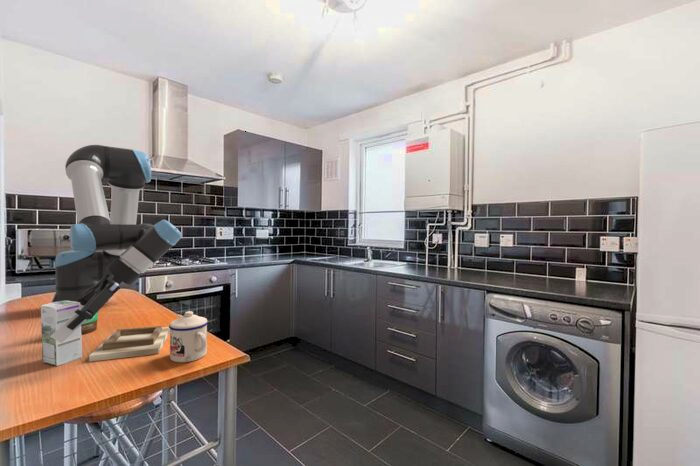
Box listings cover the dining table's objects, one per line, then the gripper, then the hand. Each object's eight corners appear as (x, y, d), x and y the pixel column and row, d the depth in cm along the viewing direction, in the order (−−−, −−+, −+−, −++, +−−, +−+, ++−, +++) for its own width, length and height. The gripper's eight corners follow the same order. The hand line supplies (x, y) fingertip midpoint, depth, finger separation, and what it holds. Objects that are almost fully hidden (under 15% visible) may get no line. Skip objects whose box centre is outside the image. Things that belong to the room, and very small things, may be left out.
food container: (71, 340, 92) (71, 306, 92) (55, 338, 94) (54, 304, 93) (111, 326, 104) (111, 296, 104) (96, 325, 106) (95, 295, 105)
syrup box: (83, 357, 81) (82, 301, 81) (55, 367, 76) (54, 307, 75) (68, 353, 83) (67, 299, 83) (40, 363, 78) (39, 304, 77)
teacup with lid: (162, 357, 82) (162, 312, 82) (196, 346, 90) (196, 305, 89) (186, 370, 76) (186, 321, 75) (221, 357, 83) (221, 313, 83)
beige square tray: (113, 336, 96) (113, 326, 96) (170, 331, 101) (170, 322, 101) (89, 361, 79) (89, 349, 79) (158, 353, 84) (158, 342, 84)
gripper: (149, 281, 80) (71, 355, 71) (134, 269, 99) (71, 326, 90) (123, 262, 76) (37, 337, 67) (113, 253, 95) (45, 311, 86)
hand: (56, 331), depth 78 cm, fingers open, 13 cm apart
